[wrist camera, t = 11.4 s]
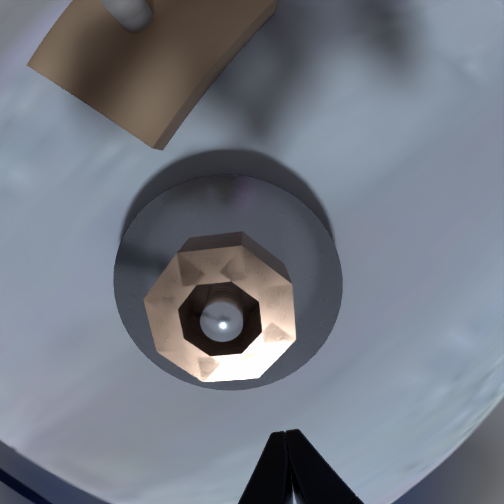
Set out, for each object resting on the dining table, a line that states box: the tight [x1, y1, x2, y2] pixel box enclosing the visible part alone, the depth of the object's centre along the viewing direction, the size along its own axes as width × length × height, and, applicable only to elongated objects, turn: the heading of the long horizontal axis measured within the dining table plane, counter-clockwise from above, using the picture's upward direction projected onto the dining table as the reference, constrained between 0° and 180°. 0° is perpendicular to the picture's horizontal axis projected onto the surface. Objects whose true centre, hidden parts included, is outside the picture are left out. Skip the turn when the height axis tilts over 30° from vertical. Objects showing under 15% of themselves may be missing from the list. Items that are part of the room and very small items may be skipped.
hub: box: [114, 174, 342, 390], centre depth 16 cm, size 12×12×4 cm
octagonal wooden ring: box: [144, 231, 296, 382], centre depth 15 cm, size 6×6×3 cm
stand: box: [27, 0, 278, 150], centre depth 12 cm, size 10×10×5 cm
